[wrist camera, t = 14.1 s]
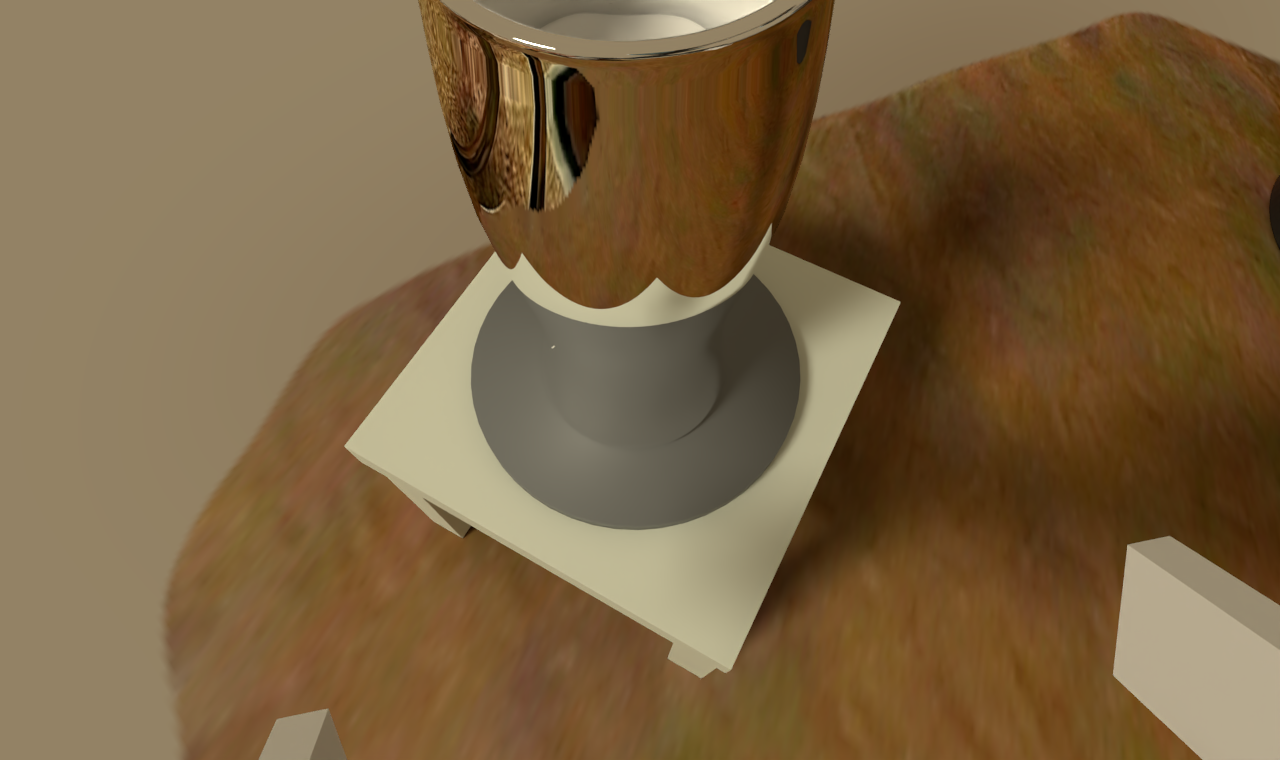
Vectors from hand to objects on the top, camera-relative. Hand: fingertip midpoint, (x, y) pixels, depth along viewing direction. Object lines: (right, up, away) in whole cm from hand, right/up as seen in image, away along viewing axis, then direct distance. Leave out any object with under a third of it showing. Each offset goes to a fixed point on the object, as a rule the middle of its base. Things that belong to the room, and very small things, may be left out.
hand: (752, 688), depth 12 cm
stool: (-2, +1, +22) cm, 22 cm away
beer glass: (-2, +5, +12) cm, 14 cm away
